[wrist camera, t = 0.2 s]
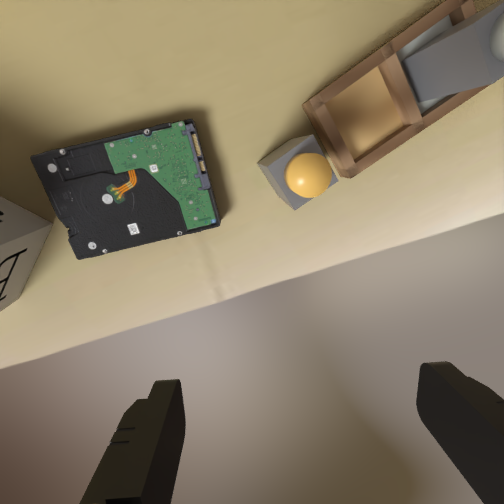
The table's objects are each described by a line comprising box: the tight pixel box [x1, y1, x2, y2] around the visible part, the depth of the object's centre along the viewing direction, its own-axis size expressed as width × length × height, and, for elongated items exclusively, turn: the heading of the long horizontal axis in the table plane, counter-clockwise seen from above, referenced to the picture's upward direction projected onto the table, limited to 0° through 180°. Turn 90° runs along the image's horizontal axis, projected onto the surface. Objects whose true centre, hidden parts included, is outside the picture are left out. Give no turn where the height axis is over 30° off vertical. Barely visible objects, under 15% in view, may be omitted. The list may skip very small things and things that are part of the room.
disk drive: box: [30, 119, 221, 260], centre depth 28 cm, size 10×3×15 cm
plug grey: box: [402, 0, 504, 103], centre depth 21 cm, size 4×4×10 cm
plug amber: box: [257, 134, 338, 210], centre depth 24 cm, size 4×4×10 cm
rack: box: [302, 0, 490, 178], centre depth 26 cm, size 8×15×3 cm, turn 124°
